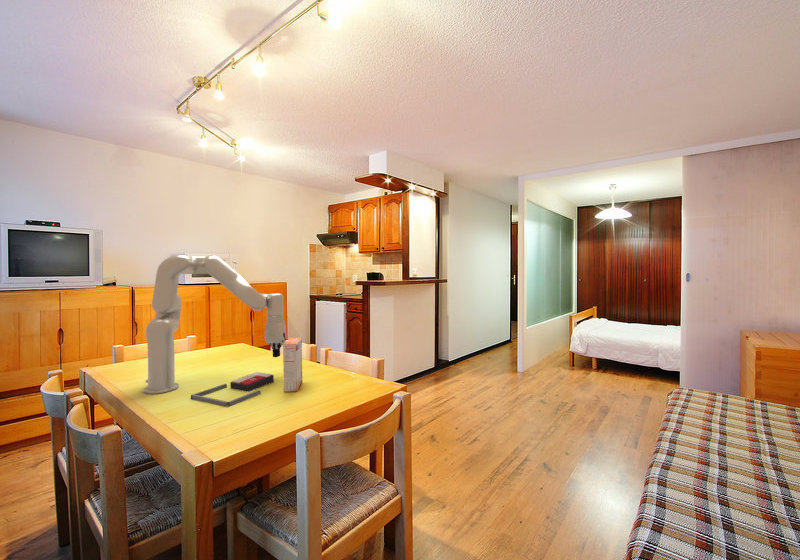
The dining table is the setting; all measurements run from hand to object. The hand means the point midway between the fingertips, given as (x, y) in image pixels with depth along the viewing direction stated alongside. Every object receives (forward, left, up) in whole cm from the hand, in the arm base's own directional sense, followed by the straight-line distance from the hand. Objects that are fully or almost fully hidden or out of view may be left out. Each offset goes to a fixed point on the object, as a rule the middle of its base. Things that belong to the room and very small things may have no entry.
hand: (276, 356), depth 167 cm
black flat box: (-2, -13, -11) cm, 17 cm away
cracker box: (+17, -7, -11) cm, 21 cm away
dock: (0, -27, -10) cm, 29 cm away
